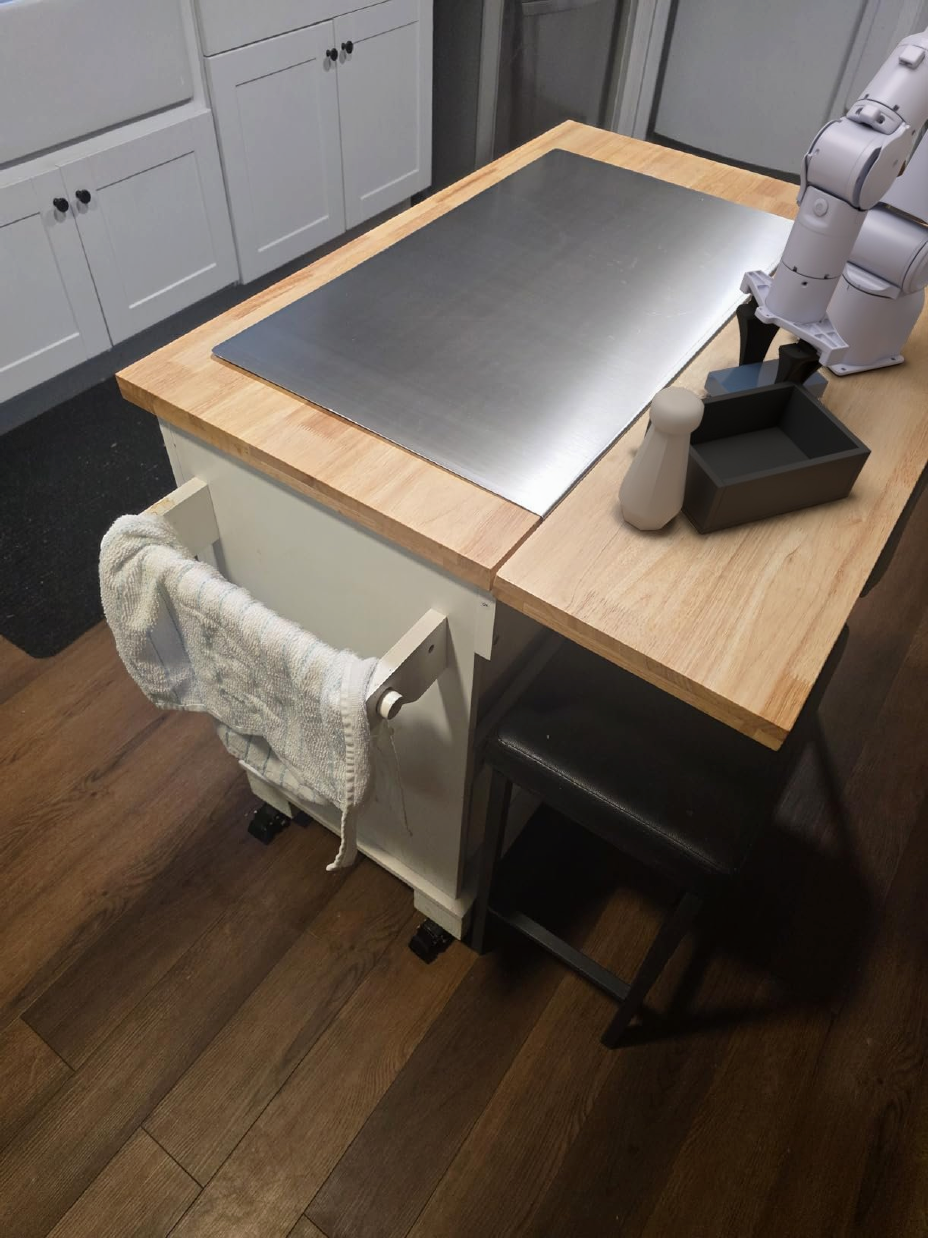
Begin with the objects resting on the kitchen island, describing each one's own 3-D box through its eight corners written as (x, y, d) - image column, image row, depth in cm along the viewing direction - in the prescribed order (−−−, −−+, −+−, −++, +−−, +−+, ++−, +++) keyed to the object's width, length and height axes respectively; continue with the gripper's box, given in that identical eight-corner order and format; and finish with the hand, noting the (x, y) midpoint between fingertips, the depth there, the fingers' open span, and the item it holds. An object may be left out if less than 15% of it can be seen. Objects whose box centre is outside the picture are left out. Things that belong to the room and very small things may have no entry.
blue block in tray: (700, 395, 93) (708, 371, 91) (789, 377, 96) (799, 353, 94) (727, 424, 90) (736, 400, 88) (818, 405, 93) (829, 381, 91)
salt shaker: (685, 510, 81) (727, 392, 71) (662, 546, 78) (702, 428, 68) (628, 486, 83) (661, 367, 73) (603, 520, 79) (633, 401, 69)
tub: (777, 424, 91) (796, 378, 86) (847, 496, 84) (872, 450, 80) (638, 455, 86) (651, 408, 82) (700, 534, 79) (718, 487, 75)
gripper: (733, 232, 84) (694, 355, 95) (824, 309, 76) (771, 435, 86) (792, 224, 87) (748, 345, 97) (888, 299, 78) (828, 423, 88)
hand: (762, 387), depth 92 cm, fingers closed on blue block in tray, 5 cm apart
